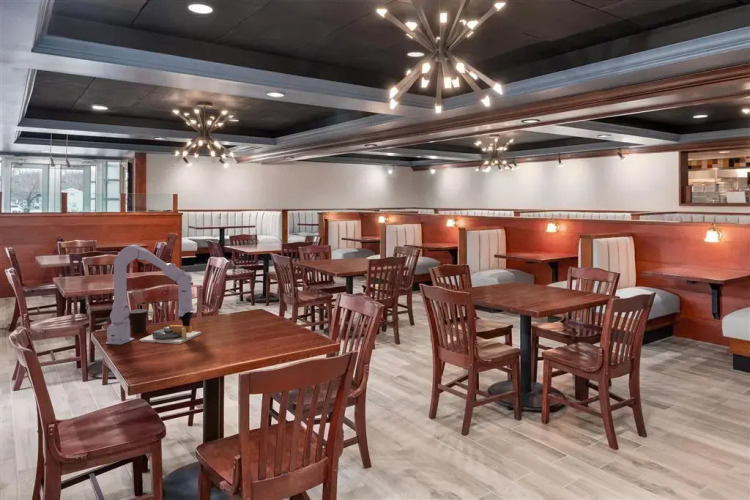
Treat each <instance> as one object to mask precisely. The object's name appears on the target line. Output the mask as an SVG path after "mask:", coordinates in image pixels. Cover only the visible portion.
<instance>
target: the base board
mask: <svg viewBox="0 0 750 500" xmlns="http://www.w3.org/2000/svg"><path fill="white" fill-rule="evenodd" d="M200 335H202V331H193V330H192V333H186V328H182V336H181V337H177V338H170V339H157V338H153V336H152V334H151V335H148V336H145V337H142V338H140V339H139V342H140V341H141V342H140V343H155V342H157V344H173V345H174V344H175V345H177V344H178V345H181V344H183V343H185V342H188V341H189V340H191V339H194V338H196V337H198V336H200Z"/></svg>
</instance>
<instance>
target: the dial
mask: <svg viewBox="0 0 750 500" xmlns="http://www.w3.org/2000/svg"><path fill="white" fill-rule="evenodd" d="M182 328H186V333H192V331H193V325H190V326H186V325H183V324H182V325H181V324H180V325H179V324H170V325H168V326H165V327H163V328H162V329H156V330H154V331H153V332H152V334H151V335H152V336H153V338H157V339H170V338H177V337H181V336H182Z"/></svg>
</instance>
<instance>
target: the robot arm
mask: <svg viewBox="0 0 750 500" xmlns="http://www.w3.org/2000/svg"><path fill="white" fill-rule="evenodd" d="M135 259H137V260H138V261H139V260H140V261H141V260H144V261H147V262H148V263H151V264H152V265H154V266H155V267H157V268H159V269H160V270H161V271H162V274H163V275H165V276H166V277H168V278H170V280H173V281H174V282H176V284H177V285H178V289H177V290H178V291H177V292H178V293H177V294H178V312H177V315H178V317H179V318H180V320H181V322H182V323H181V324H182V325H186V326H191V324H190V323H191V320H192V317H193V314H194V312H192V311H195V309H196V308H195V307H194V306H193V294H192V292H193V291H192V284H191V283H192V280H193V277H192V275H191V274H190V273H189V272H187V271H186V270H184V269H183V270H182V269H181V268H179V267H178V266H176V265H177V264H176V263H174V262H173V263H172V262H169V263H167V262H165V261H163V260H162V259H161V258H159V257H158V256H157V255H155V254H154V253H152V252H151V251H150V250H148V249H146V248H145V247H142V246H140V245H139V244H135V243H133V244H131V245H128V246H126V247H124V248H123V249H121V250H120V252H119V253H118V255H117V256H116V258H115V259H114V262H113V298H114V299H113V303H112V307H111V308H112V309H111V312H110V314H109V318H110V320H111V323H110V325H109V326H108V327H107V328H106V340H107V341H106V342H105V344H107V345H124V344H126V343H129V342H131V341H133V340H135V337H131V327H130V321H129V315H130V311H131V310H130V307H129V303H128V300H127V293H128V292H127V266H128V265H129V264H130V263H131V262H132V261H134V260H135Z"/></svg>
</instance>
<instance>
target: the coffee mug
mask: <svg viewBox="0 0 750 500" xmlns="http://www.w3.org/2000/svg"><path fill="white" fill-rule="evenodd" d="M128 319H129V323H130V333H132V332H134V333H133V334H139V333H138V332H142V333H145V332H147V323H148V322H147V321H148V309H142V308H141V309H132V310H130V315H129V316H128ZM144 331H145V332H144Z"/></svg>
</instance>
